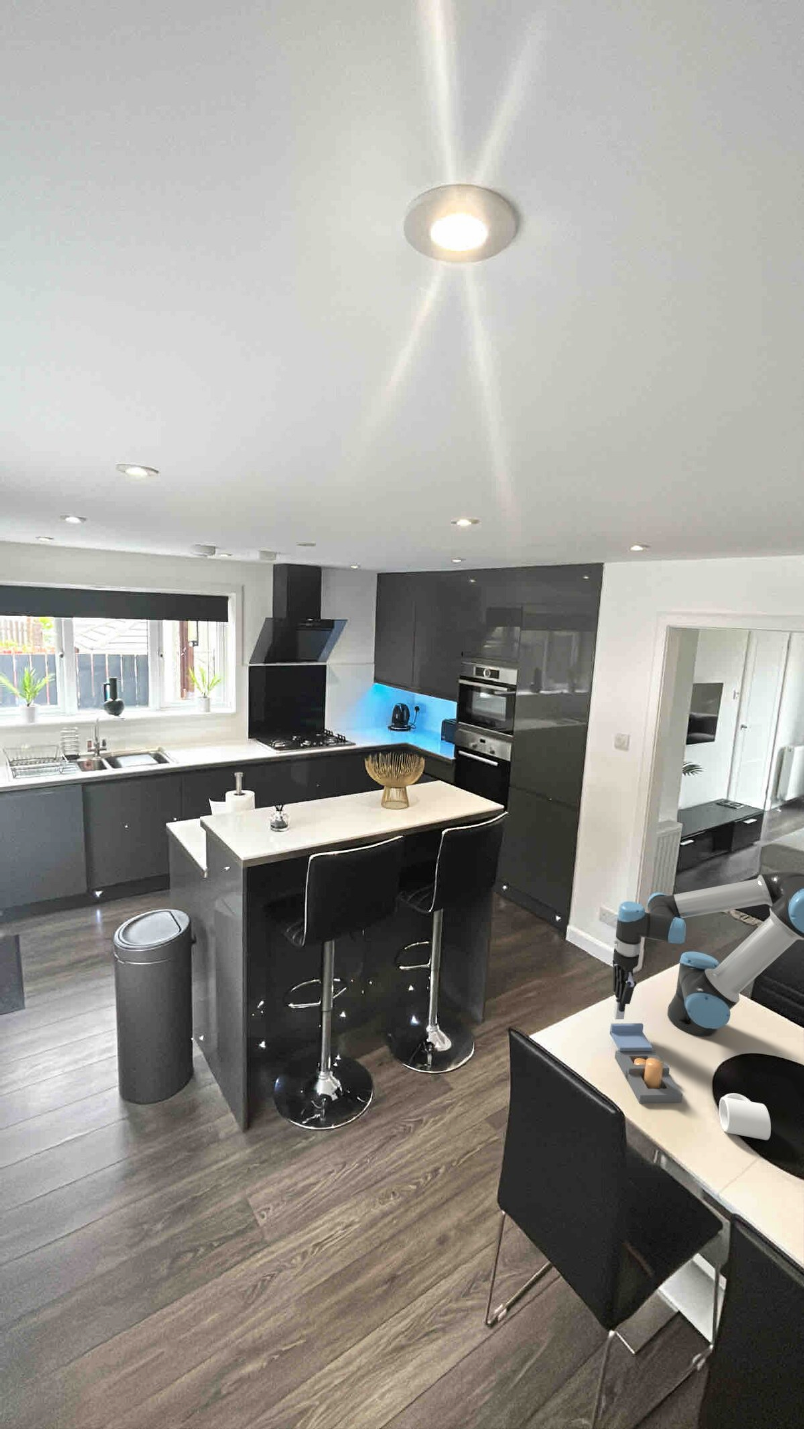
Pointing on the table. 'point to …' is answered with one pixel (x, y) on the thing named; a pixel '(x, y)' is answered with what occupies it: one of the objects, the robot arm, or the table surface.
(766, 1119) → the mug
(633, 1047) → the lid
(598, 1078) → the table surface
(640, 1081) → the housing
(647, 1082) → the pin
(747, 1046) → the table surface
